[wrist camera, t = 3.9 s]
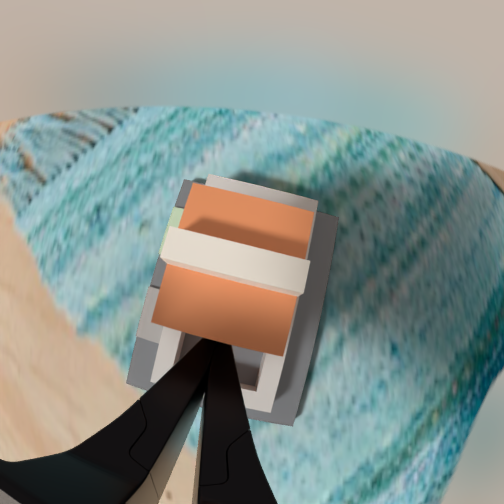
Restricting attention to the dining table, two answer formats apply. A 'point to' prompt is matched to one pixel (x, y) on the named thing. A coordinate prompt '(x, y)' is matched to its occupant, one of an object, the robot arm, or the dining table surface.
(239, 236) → the orange juice carton
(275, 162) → the dining table surface
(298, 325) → the grey framed base plate
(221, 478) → the robot arm
